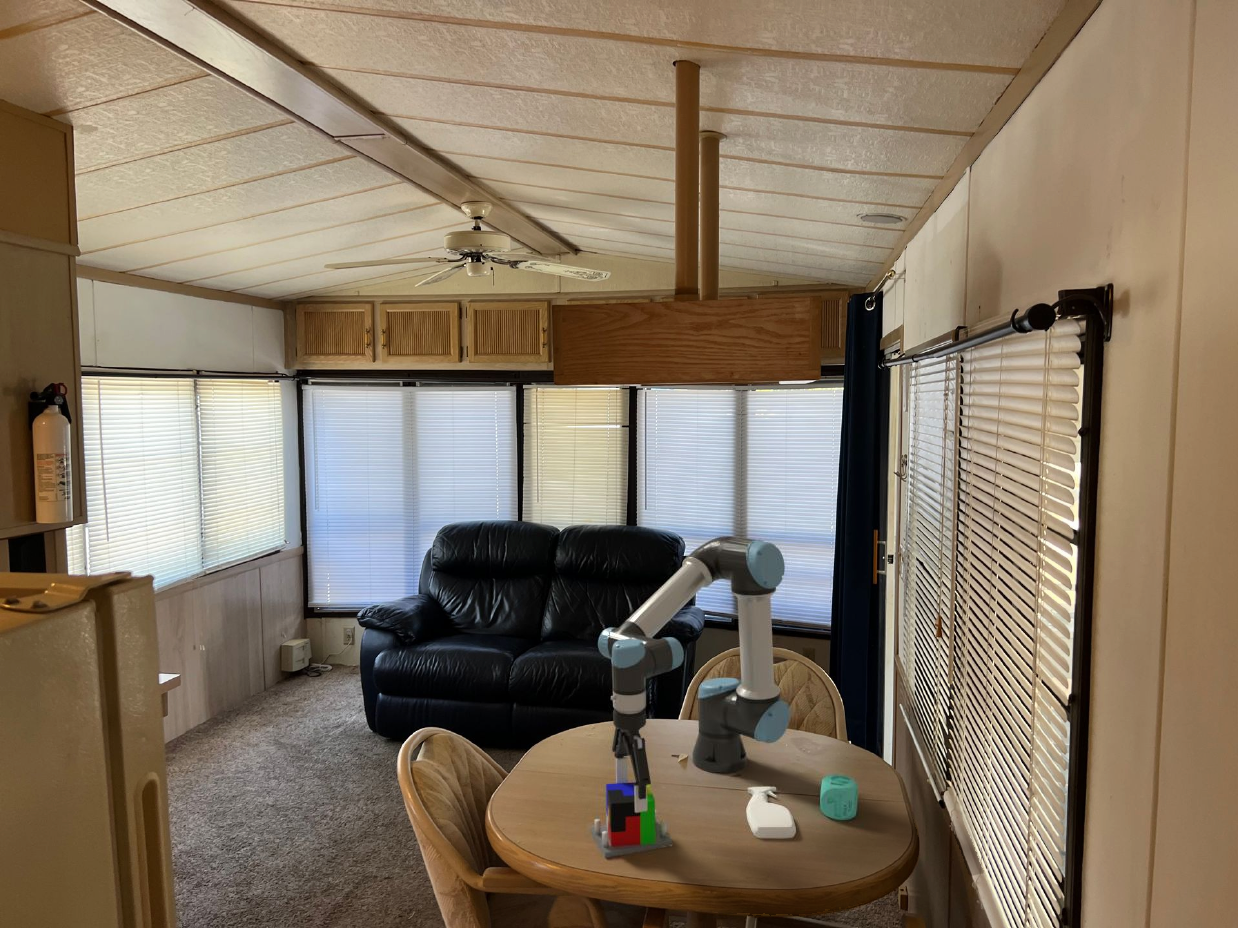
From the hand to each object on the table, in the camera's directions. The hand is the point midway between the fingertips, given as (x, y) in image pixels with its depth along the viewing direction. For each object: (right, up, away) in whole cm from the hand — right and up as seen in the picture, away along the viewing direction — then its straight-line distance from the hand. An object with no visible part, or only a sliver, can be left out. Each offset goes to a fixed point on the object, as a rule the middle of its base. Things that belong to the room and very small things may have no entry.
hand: (631, 797), depth 199 cm
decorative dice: (+51, -9, +13) cm, 53 cm away
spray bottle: (+34, -9, +12) cm, 37 cm away
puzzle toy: (0, -9, 0) cm, 9 cm away
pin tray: (0, -10, 0) cm, 10 cm away
